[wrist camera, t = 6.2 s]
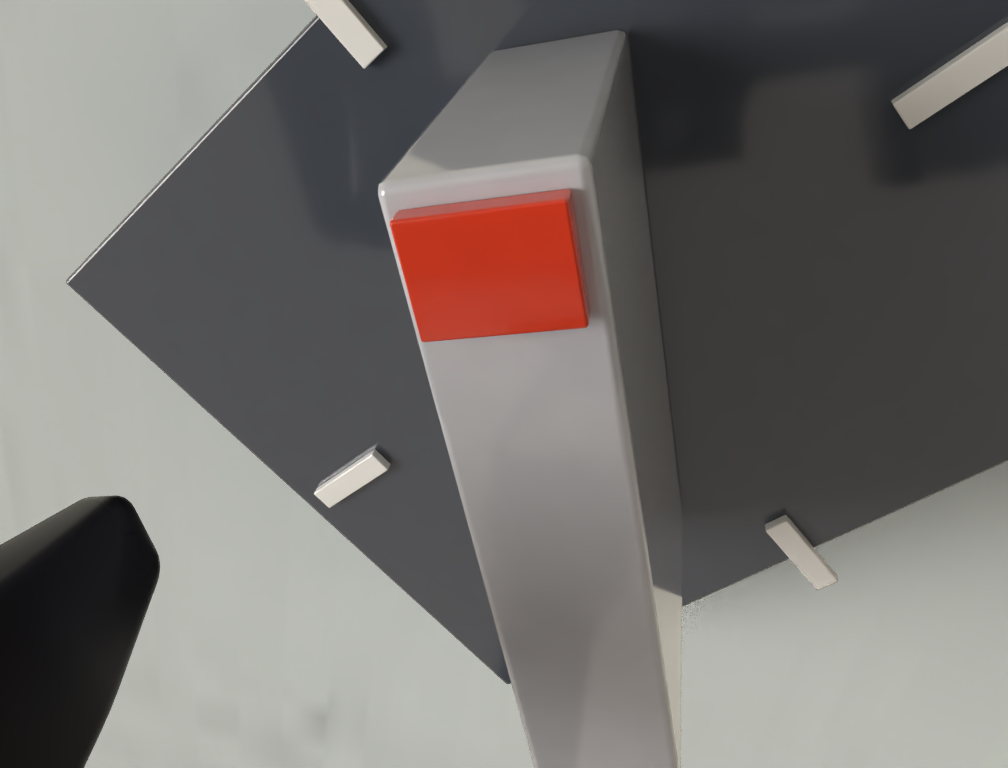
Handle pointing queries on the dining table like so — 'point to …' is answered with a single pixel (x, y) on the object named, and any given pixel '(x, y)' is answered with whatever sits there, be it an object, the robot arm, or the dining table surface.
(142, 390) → the dining table surface
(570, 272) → the red-tipped white block
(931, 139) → the base
